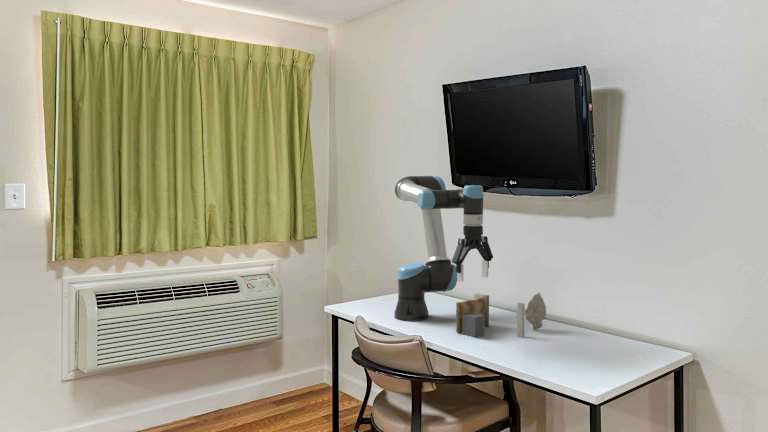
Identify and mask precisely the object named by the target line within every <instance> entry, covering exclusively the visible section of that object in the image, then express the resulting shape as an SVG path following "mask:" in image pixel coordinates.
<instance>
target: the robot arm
mask: <svg viewBox="0 0 768 432" xmlns="http://www.w3.org/2000/svg"><path fill="white" fill-rule="evenodd" d="M446 187H447V186H446V184H445V181H444V180H443V179H442V178H441V177H440V176H438V175H415V176H414V175H409V176H404V177H402V178H401V179H399V180H398V181H397V182H396V184H395V185H394V194H395V196H396V197H397V199H399V200H401V201H403V202H412V203H414V204H417V207H419V208H420V209H421V213H422V220H423V221H422V222H423V230H424V237H425V238H424V239H425V244H426V252H427V260H426V261H425V264H424V263H422V262H415V263H408V264H407V263H406V264H404V265H402V266H400V267H399V268H398V272H397V282H398V283H397V292H398V294H397V296H398V297H397V298H398V299H397V303H396V307H395V309H394V314H393V315H394V318H395V319H396V320H400V321H409V322H415V321H416V322H417V321H423V320H426V319H428V318H429V315H430V313H429V310H428V306H427V303H426V299H425V293H437V292H449V291H452V290H454V289H455V287H456V286H457V283H458V282H464V264H463V262H464V261H465V259H466V257H467V256H468V254H469V252H471V250H474V249H475V250H477V252H478V253H479V254H480V256H481V258H482V260H481V277H483V278H489V268H490V262H491V261H492V259H494V256H493V252H492V250H491V247H490V245H489V240H488V236H486V235H483V234H484V226H483V224H484V187H483V186H482V185H479V184H478V185H475V184H473V185H472V184H471V185H469V184H467V185H464V187H463V188H460V189H459V188H458V189H457V188H456V189H447V188H446ZM441 209H444V210H447V209H448V210H449V209H451V210H453V209H463V219H462V221H463V229H462V230H463V232H462V233H463V235H464V238H461V237H459V238H458V240H457V246H456V248H455V251H454V254H453V258H452V259H450V258H449V257H448V256H447V255H448V254H447V247H446V239H445V231H444V226H443V217H442V211H441Z"/></svg>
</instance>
